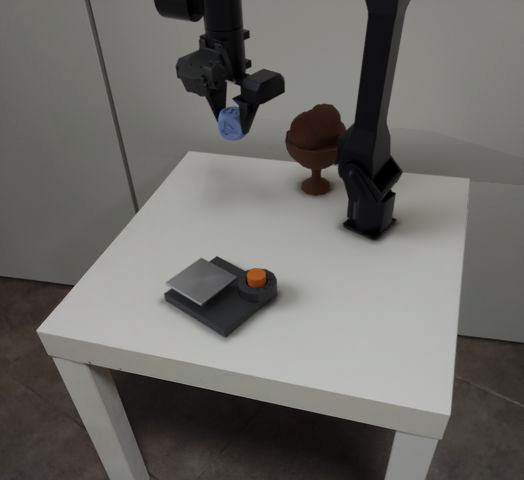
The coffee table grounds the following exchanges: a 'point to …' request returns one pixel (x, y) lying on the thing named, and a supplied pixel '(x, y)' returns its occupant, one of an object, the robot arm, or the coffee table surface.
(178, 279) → the scale pan
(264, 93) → the robot arm
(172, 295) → the scale
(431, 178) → the coffee table surface
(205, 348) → the coffee table surface
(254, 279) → the tare button
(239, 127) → the decorative dice
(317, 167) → the ice cream bowl
